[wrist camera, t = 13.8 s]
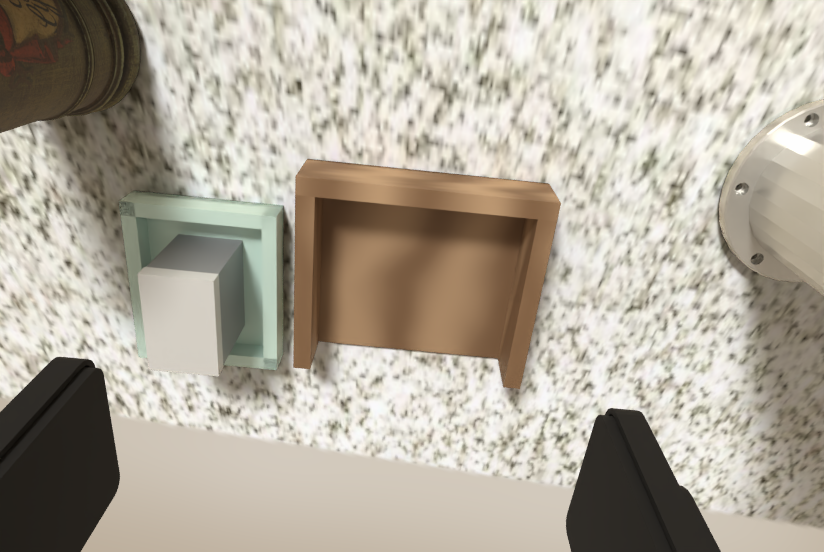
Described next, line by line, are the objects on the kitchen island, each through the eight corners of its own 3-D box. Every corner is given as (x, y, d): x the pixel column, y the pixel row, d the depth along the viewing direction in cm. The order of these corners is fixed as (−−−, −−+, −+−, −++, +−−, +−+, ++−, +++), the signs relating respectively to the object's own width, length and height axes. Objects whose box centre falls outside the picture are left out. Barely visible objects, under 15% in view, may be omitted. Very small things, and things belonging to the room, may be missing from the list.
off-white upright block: (243, 239, 42) (213, 281, 36) (245, 325, 45) (218, 376, 39) (177, 233, 42) (137, 273, 36) (184, 319, 45) (148, 369, 39)
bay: (548, 183, 40) (560, 203, 37) (512, 357, 46) (519, 388, 43) (307, 159, 40) (295, 176, 36) (303, 337, 46) (293, 367, 42)
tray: (283, 205, 41) (276, 216, 39) (283, 353, 47) (276, 370, 45) (133, 190, 41) (118, 201, 39) (150, 341, 47) (138, 357, 45)
